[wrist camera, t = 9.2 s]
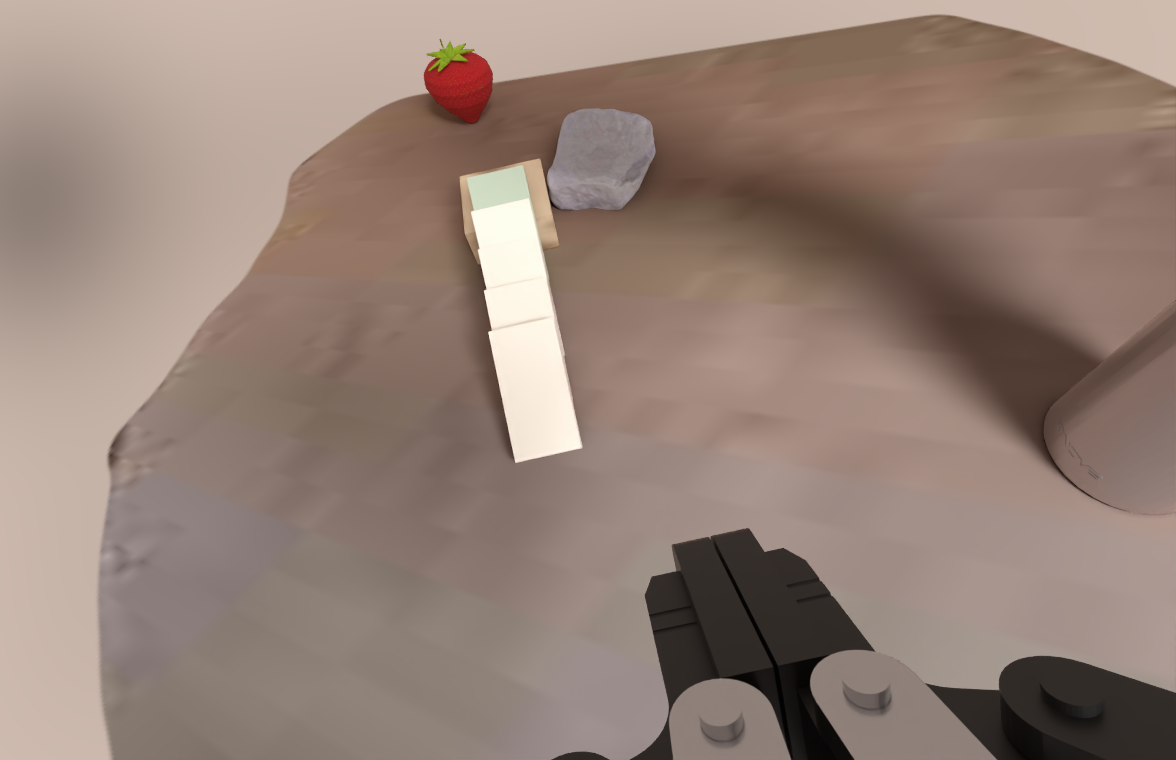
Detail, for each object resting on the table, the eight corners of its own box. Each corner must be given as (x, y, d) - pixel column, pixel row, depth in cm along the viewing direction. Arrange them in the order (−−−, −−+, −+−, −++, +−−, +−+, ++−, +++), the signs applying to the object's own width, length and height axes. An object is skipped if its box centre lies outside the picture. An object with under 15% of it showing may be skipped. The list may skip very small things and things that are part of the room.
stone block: (654, 149, 63) (565, 134, 63) (662, 111, 59) (566, 95, 59) (641, 231, 58) (543, 214, 58) (649, 196, 53) (543, 177, 53)
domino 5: (518, 462, 44) (492, 335, 45) (582, 447, 44) (554, 321, 45) (515, 462, 42) (488, 331, 43) (581, 447, 42) (552, 317, 43)
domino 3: (507, 369, 48) (481, 254, 48) (565, 356, 48) (539, 240, 48) (504, 369, 46) (477, 249, 47) (564, 355, 46) (537, 235, 47)
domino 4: (512, 415, 46) (488, 295, 47) (573, 402, 46) (548, 282, 47) (508, 415, 44) (483, 290, 45) (572, 401, 44) (545, 276, 45)
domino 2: (501, 328, 50) (474, 215, 50) (556, 315, 50) (530, 202, 50) (498, 328, 49) (470, 211, 48) (555, 315, 49) (528, 198, 48)
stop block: (547, 191, 59) (540, 158, 55) (559, 246, 55) (551, 214, 51) (471, 208, 59) (459, 176, 56) (477, 264, 55) (464, 234, 51)
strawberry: (501, 136, 64) (475, 47, 56) (437, 141, 66) (402, 54, 57) (508, 104, 67) (484, 15, 59) (446, 109, 69) (415, 22, 60)
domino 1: (496, 293, 52) (470, 182, 51) (549, 281, 52) (524, 170, 51) (493, 292, 50) (466, 177, 49) (548, 279, 50) (522, 165, 49)
